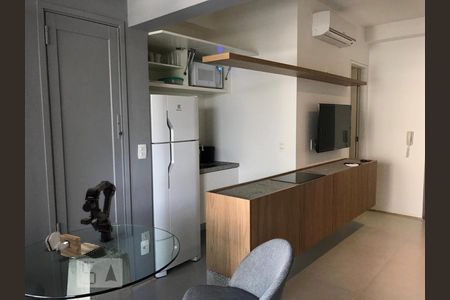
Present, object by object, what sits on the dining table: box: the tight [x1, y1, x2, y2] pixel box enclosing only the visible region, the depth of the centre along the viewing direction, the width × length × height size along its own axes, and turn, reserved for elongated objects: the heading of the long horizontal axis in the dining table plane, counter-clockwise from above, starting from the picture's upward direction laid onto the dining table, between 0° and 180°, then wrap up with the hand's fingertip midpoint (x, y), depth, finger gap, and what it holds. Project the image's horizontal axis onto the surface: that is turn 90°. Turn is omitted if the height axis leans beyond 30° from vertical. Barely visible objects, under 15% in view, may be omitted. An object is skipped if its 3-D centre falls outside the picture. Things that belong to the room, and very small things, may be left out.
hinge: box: [44, 231, 62, 252], centre depth 223 cm, size 17×5×10 cm, turn 7°
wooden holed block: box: [58, 240, 70, 251], centre depth 205 cm, size 11×5×5 cm, turn 152°
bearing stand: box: [60, 233, 101, 258], centre depth 213 cm, size 18×14×12 cm
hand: (96, 230), depth 216 cm, fingers closed
